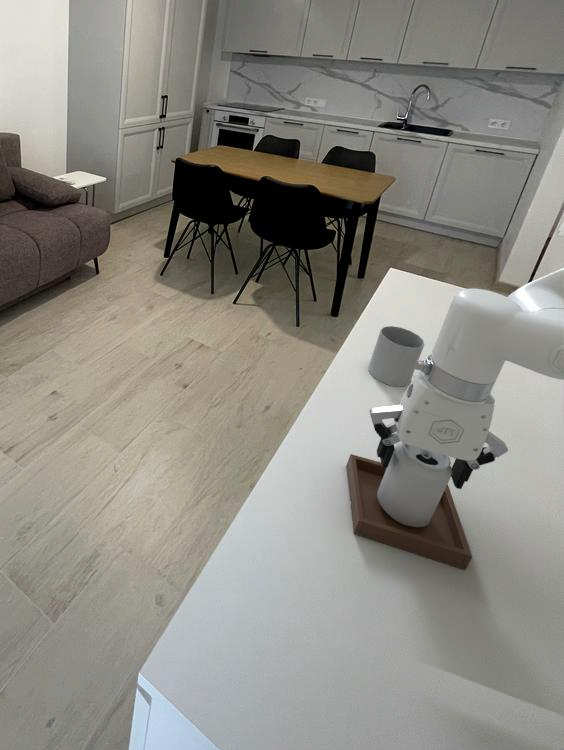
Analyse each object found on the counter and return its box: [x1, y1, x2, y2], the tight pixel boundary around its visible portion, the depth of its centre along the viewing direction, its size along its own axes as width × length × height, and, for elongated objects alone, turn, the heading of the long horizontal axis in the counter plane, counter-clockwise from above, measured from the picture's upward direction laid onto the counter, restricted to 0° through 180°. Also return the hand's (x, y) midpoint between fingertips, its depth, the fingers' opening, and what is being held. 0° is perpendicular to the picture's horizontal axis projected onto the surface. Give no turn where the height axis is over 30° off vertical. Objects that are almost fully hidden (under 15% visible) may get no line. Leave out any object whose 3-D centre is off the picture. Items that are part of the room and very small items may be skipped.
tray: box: [345, 453, 473, 571], centre depth 77 cm, size 15×14×3 cm
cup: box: [367, 325, 425, 388], centre depth 108 cm, size 8×8×10 cm
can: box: [377, 441, 452, 527], centre depth 75 cm, size 8×8×12 cm
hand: (418, 470), depth 74 cm, fingers open, 9 cm apart
